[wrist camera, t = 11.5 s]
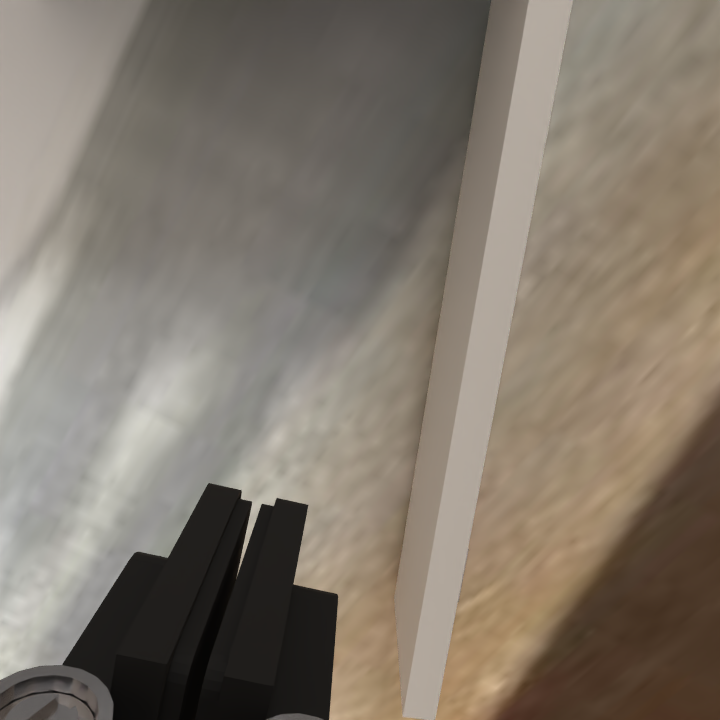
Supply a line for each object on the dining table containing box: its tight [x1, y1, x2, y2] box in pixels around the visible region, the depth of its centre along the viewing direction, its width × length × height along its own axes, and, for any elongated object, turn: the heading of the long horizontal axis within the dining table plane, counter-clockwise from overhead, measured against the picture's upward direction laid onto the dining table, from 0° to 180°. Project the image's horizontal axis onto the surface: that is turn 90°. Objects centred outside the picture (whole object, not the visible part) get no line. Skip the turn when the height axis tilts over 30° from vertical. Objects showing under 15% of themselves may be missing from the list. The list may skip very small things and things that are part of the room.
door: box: [394, 0, 573, 720], centre depth 24 cm, size 26×2×7 cm, turn 173°
